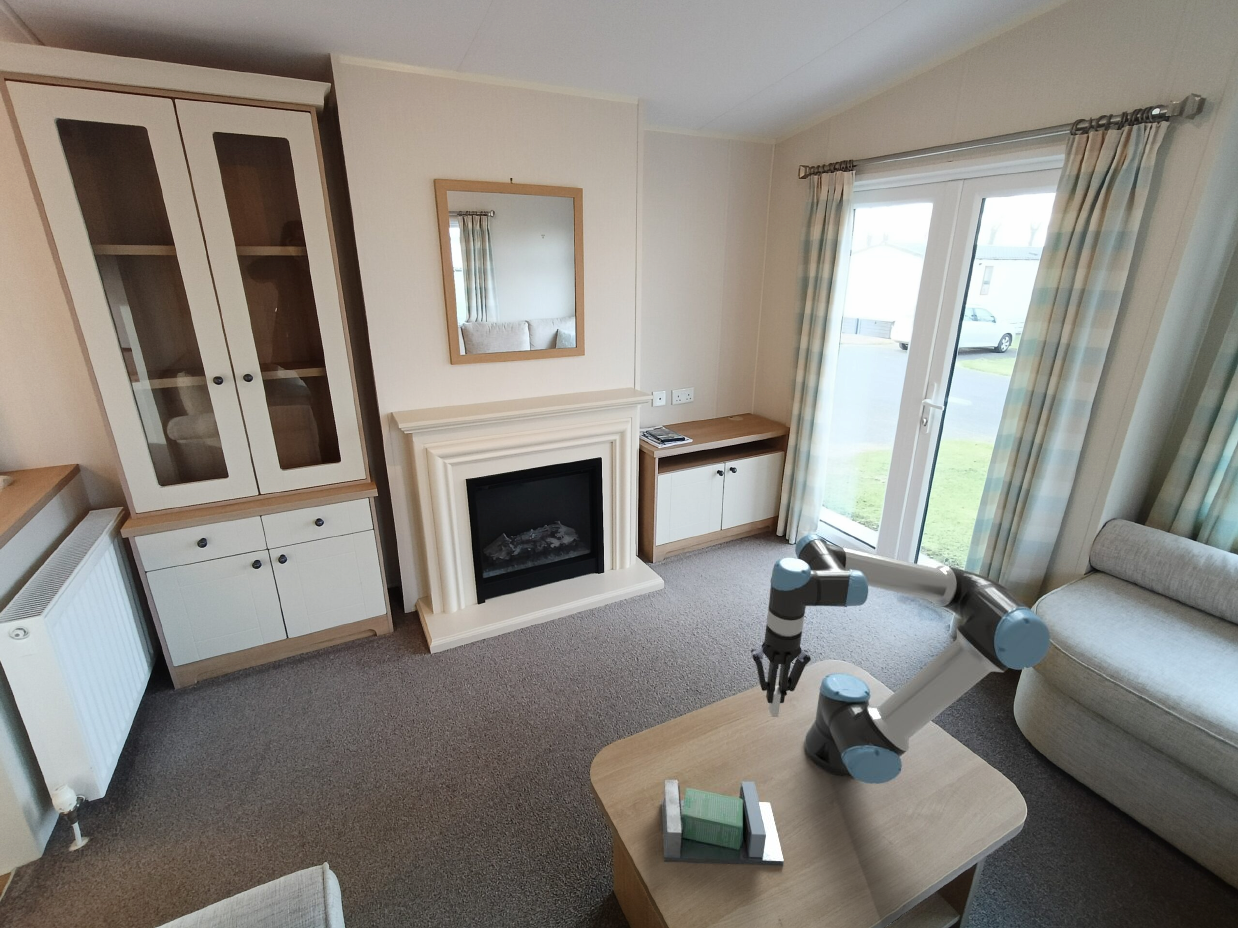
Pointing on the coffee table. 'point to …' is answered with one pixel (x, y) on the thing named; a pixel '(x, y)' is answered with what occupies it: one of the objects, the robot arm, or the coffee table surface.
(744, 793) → the block
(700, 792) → the box
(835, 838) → the coffee table surface
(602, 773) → the coffee table surface
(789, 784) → the coffee table surface
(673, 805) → the vise
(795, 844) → the coffee table surface
